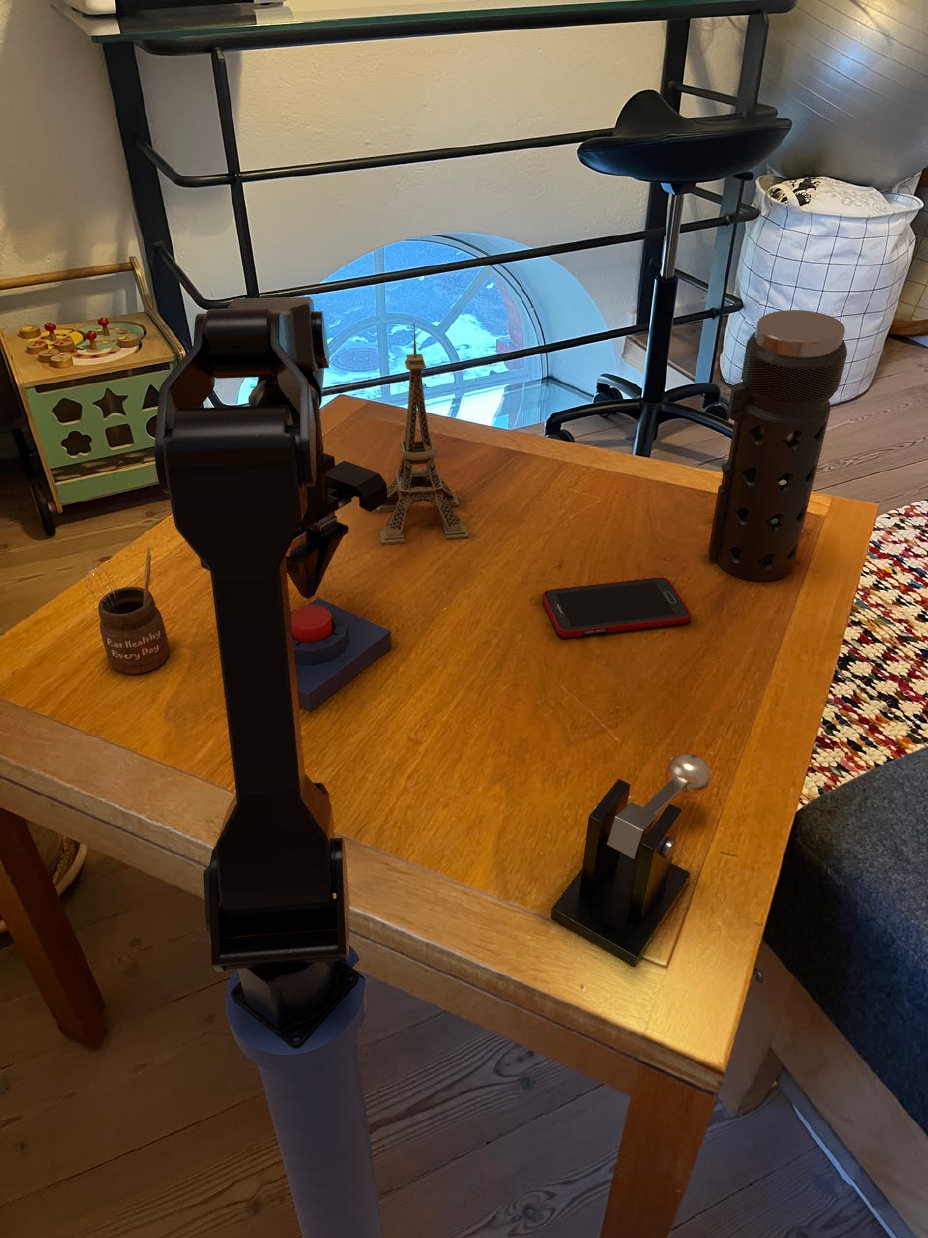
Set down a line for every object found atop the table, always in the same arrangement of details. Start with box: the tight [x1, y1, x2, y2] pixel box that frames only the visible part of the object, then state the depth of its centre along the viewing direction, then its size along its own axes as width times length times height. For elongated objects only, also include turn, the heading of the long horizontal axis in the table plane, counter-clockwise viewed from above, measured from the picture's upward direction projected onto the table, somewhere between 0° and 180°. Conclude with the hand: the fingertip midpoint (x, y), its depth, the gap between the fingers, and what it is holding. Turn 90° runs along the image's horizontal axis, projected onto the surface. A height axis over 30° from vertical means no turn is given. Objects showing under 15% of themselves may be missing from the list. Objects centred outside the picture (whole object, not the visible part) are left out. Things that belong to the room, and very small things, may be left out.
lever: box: [607, 752, 713, 859], centre depth 69 cm, size 14×4×4 cm, turn 144°
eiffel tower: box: [375, 324, 470, 546], centre depth 107 cm, size 11×11×25 cm
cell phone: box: [541, 576, 692, 638], centre depth 98 cm, size 8×15×1 cm, turn 101°
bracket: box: [550, 778, 692, 968], centre depth 66 cm, size 9×7×10 cm
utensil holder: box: [84, 546, 170, 675], centre depth 89 cm, size 6×6×12 cm
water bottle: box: [707, 309, 848, 582], centre depth 98 cm, size 10×28×10 cm
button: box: [291, 604, 332, 643], centre depth 89 cm, size 4×4×2 cm
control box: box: [291, 597, 392, 712], centre depth 91 cm, size 12×10×4 cm
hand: (307, 596), depth 87 cm, fingers closed
